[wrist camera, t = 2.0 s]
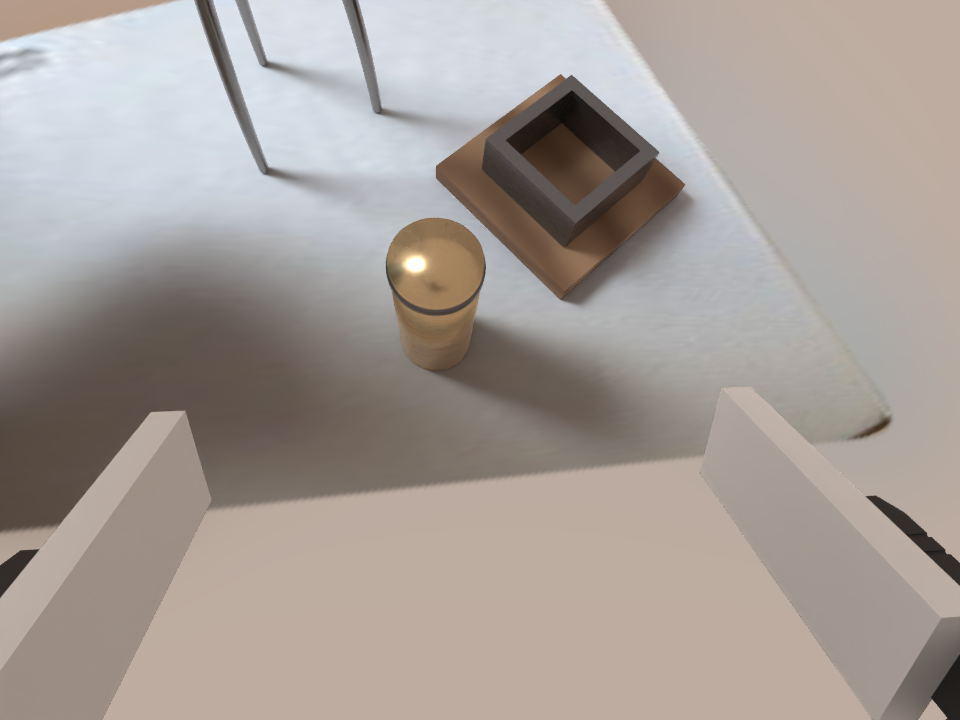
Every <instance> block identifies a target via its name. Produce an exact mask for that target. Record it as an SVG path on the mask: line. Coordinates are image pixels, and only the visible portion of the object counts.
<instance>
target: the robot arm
mask: <svg viewBox="0 0 960 720" xmlns="http://www.w3.org/2000/svg"><path fill="white" fill-rule="evenodd" d="M700 474H701V475H702V476H703V478H704V479H705V481H706V482H707V484H708V485H709V487H710V488H711V489H712V491H713V492H714V494H715V495H716V496H717V498H718V499H719V501H720V502H721V504H722V505H723V507H724V508H725V509H726V511H727V512H728V514H729V515H730V516H731V518H732V519H733V521H734V522H735V524H736V525H737V527H738V528H739V529H740V531H741V532H742V534H743V535H744V537H745V538H746V540H747V541H748V542H749V544H750V545H751V547H752V548H753V550H754V551H755V552H756V554H757V555H758V557H759V558H760V560H761V561H762V563H763V564H764V565H765V567H766V568H767V569H768V571H769V573H770V574H771V575H772V577H773V578H774V580H775V581H776V583H777V584H778V585H779V587H780V588H781V590H782V591H783V592H784V594H785V595H786V597H787V598H788V600H789V601H790V603H791V604H792V605H793V607H794V608H795V610H796V611H797V613H798V614H799V616H800V617H801V618H802V620H803V621H804V623H805V624H806V626H807V627H808V628H809V630H810V631H811V633H812V634H813V636H814V637H815V638H816V640H817V641H818V643H819V644H820V646H821V647H822V649H823V650H824V651H825V653H826V654H827V656H828V657H829V659H830V660H831V661H832V663H833V664H834V666H835V667H836V669H837V670H838V671H839V673H840V674H841V676H842V677H843V679H844V680H845V681H846V683H847V684H848V686H849V687H850V689H851V690H852V692H853V693H854V694H855V696H856V697H857V699H858V700H859V702H860V703H861V704H862V706H863V707H864V708H865V710H866V712H867V713H868V714H869V716H870V717H871V719H872V720H918V719H919V718H920V716H921V715H922V713H923V712H924V710H925V709H926V707H927V706H928V704H929V702H930V701H931V700H932V699H933V701H934V702H935V703H936V704H937V705H938V707H939V708H940V709H941V710H942V712H943V713H944V714H945V715H946V717H947V719H946V720H960V563H959V562H958V561H957V560H956V559H955V558H954V557H953V556H952V555H950V554H946V552H945V549H944V548H943V547H942V546H941V545H939V543H937V542H936V541H935V540H934V539H933V538H932V537H928V536H927V533H926V532H925V531H924V530H923V529H922V528H921V527H920V526H919V525H917V524H916V523H915V522H914V521H913V520H912V519H911V518H910V517H909V516H908V515H907V514H905V513H904V512H903V511H901V510H899V509H898V508H895V507H894V506H893V505H891V504H889V503H887V502H886V501H884V500H882V499H881V498H879V497H877V496H864V495H863V494H862V493H861V492H860V491H859V490H858V489H857V488H856V487H855V486H854V485H853V484H852V483H851V482H850V481H849V480H848V479H847V478H846V477H845V476H843V475H842V474H841V473H840V472H839V471H838V470H837V469H836V468H835V467H834V466H833V465H832V464H831V463H830V462H829V461H828V460H827V459H826V458H825V457H823V456H822V455H821V454H820V453H819V452H818V451H817V450H816V449H815V448H814V447H813V446H812V445H811V444H810V443H809V442H808V441H807V440H806V439H805V438H803V437H802V436H801V435H800V434H799V433H798V432H797V431H796V430H795V429H794V428H793V427H792V426H791V425H790V424H789V423H788V422H787V421H786V420H785V419H783V418H782V417H781V416H780V415H779V414H778V413H777V412H776V411H775V410H774V409H773V408H772V407H771V406H770V405H769V404H768V403H767V402H766V401H765V400H764V399H762V398H761V397H760V396H759V395H758V394H757V393H756V392H755V391H754V390H753V389H752V388H751V387H727V388H721V391H720V395H719V399H718V403H717V407H716V411H715V415H714V419H713V423H712V427H711V431H710V435H709V439H708V443H707V447H706V451H705V455H704V459H703V463H702V467H701V471H700ZM211 501H212V500H211V497H210V493H209V490H208V487H207V483H206V480H205V476H204V473H203V469H202V466H201V463H200V459H199V456H198V452H197V449H196V446H195V442H194V439H193V435H192V432H191V429H190V425H189V422H188V418H187V415H186V411H164V412H151V413H150V414H149V415H148V416H147V418H146V419H145V420H144V421H143V423H142V424H141V425H140V426H139V428H138V429H137V430H136V431H135V432H134V434H133V435H132V436H131V437H130V439H129V440H128V441H127V442H126V444H125V445H124V446H123V447H122V449H121V450H120V451H119V452H118V453H117V455H116V456H115V457H114V458H113V460H112V461H111V462H110V463H109V465H108V466H107V467H106V468H105V470H104V471H103V472H102V473H101V474H100V476H99V477H98V478H97V479H96V481H95V482H94V483H93V484H92V486H91V487H90V488H89V489H88V490H87V492H86V493H85V494H84V495H83V497H82V498H81V499H80V500H79V502H78V503H77V504H76V505H75V507H74V508H73V509H72V510H71V511H70V513H69V514H68V515H67V516H66V518H65V519H64V520H63V521H62V523H61V524H60V525H59V526H58V528H57V529H56V530H55V531H54V532H53V534H52V535H51V536H50V537H49V539H48V540H47V541H46V542H45V544H44V545H43V546H42V547H41V549H38V550H23V551H22V550H21V551H19V552H18V553H16V554H15V555H14V556H12V557H11V558H10V559H8V560H7V561H6V562H4V563H3V564H2V565H0V720H102V719H103V717H104V715H105V713H106V711H107V709H108V707H109V705H110V703H111V701H112V699H113V697H114V695H115V693H116V691H117V689H118V687H119V685H120V683H121V681H122V679H123V677H124V675H125V673H126V671H127V669H128V667H129V665H130V663H131V661H132V659H133V657H134V655H135V653H136V651H137V649H138V647H139V645H140V643H141V641H142V639H143V637H144V635H145V633H146V631H147V629H148V627H149V625H150V623H151V621H152V619H153V617H154V615H155V613H156V611H157V609H158V607H159V605H160V603H161V601H162V599H163V597H164V595H165V593H166V591H167V589H168V587H169V585H170V583H171V581H172V579H173V577H174V575H175V573H176V571H177V569H178V567H179V565H180V563H181V561H182V559H183V557H184V555H185V553H186V551H187V549H188V546H189V545H190V543H191V541H192V539H193V537H194V535H195V533H196V531H197V529H198V527H199V525H200V523H201V521H202V519H203V517H204V515H205V513H206V511H207V509H208V507H209V505H210V503H211Z"/></svg>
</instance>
